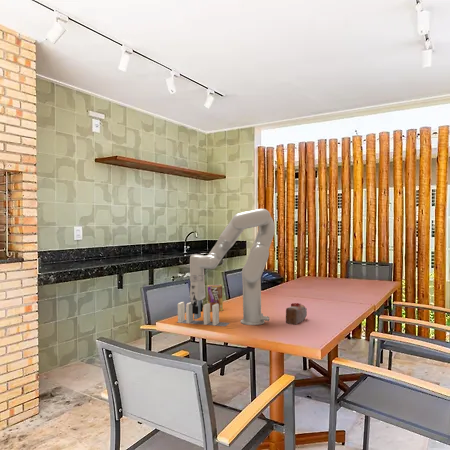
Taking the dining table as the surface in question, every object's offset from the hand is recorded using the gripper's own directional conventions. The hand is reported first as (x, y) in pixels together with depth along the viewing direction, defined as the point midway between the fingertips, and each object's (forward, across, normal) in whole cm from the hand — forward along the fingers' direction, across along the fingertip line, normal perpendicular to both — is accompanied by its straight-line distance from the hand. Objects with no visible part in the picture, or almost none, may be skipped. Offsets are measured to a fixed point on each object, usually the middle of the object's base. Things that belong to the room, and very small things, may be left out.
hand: (197, 312), depth 206 cm
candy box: (+6, +31, +3) cm, 32 cm away
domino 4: (+5, 0, -10) cm, 12 cm away
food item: (+6, +18, -49) cm, 52 cm away
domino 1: (+6, 0, +10) cm, 11 cm away
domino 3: (+5, 0, -5) cm, 8 cm away
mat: (+6, +1, -3) cm, 6 cm away
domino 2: (+6, 0, +5) cm, 7 cm away
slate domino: (+3, 0, 0) cm, 3 cm away
